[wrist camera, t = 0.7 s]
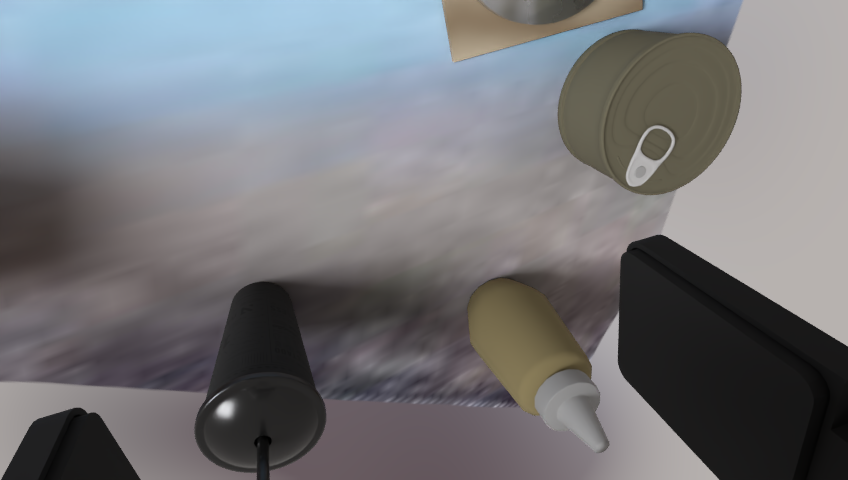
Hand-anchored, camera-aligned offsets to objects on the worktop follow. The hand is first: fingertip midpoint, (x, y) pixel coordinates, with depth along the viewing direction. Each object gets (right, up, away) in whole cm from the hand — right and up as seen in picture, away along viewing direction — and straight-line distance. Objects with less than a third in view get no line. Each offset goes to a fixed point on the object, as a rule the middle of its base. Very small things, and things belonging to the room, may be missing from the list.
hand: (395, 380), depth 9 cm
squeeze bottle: (+7, -4, +41) cm, 41 cm away
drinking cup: (-13, -3, +34) cm, 36 cm away
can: (+17, +14, +35) cm, 42 cm away
